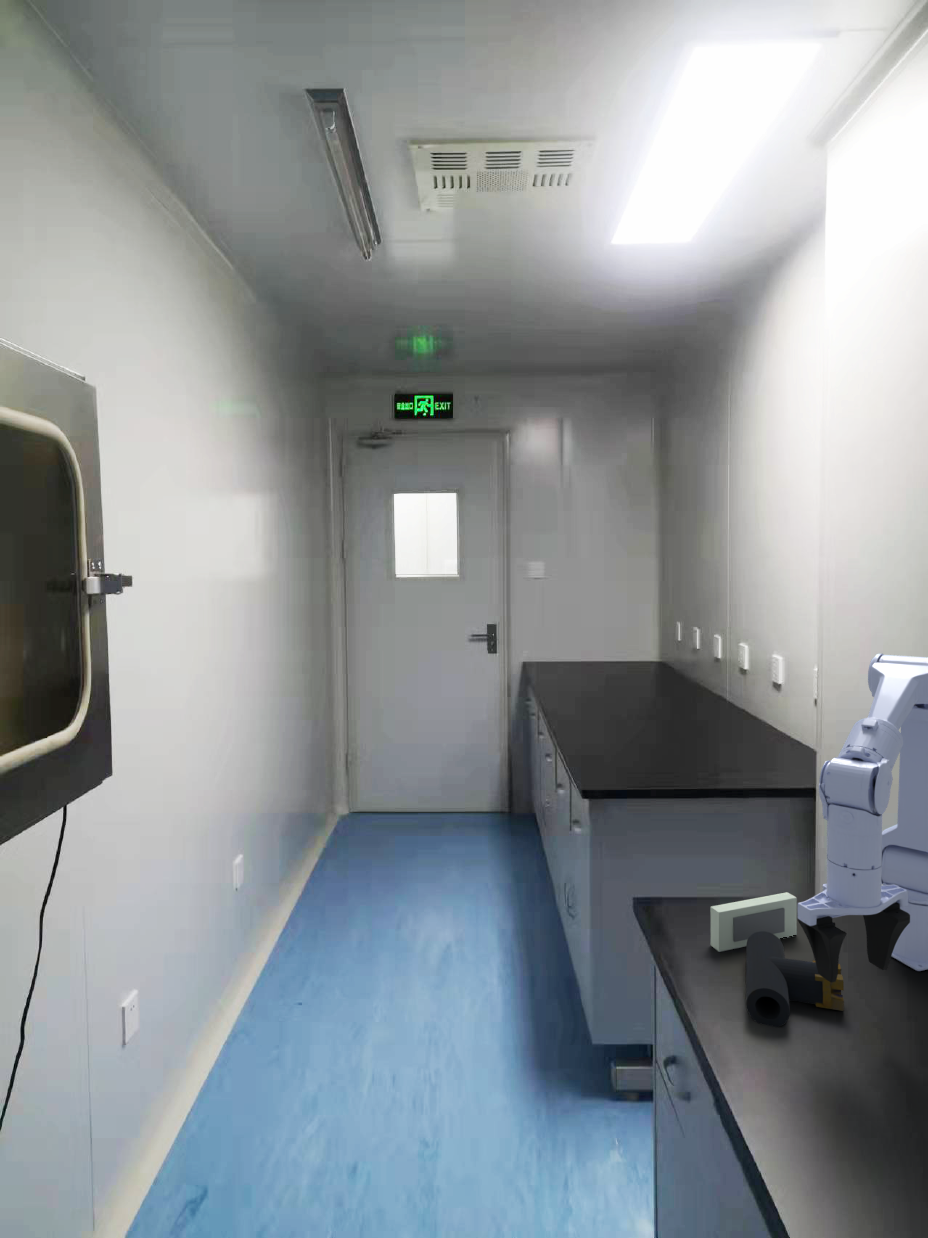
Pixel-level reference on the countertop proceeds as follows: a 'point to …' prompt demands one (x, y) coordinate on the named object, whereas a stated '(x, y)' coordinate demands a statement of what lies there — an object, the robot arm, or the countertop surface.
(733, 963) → the countertop surface
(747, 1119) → the countertop surface
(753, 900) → the block
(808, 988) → the pipe connector
